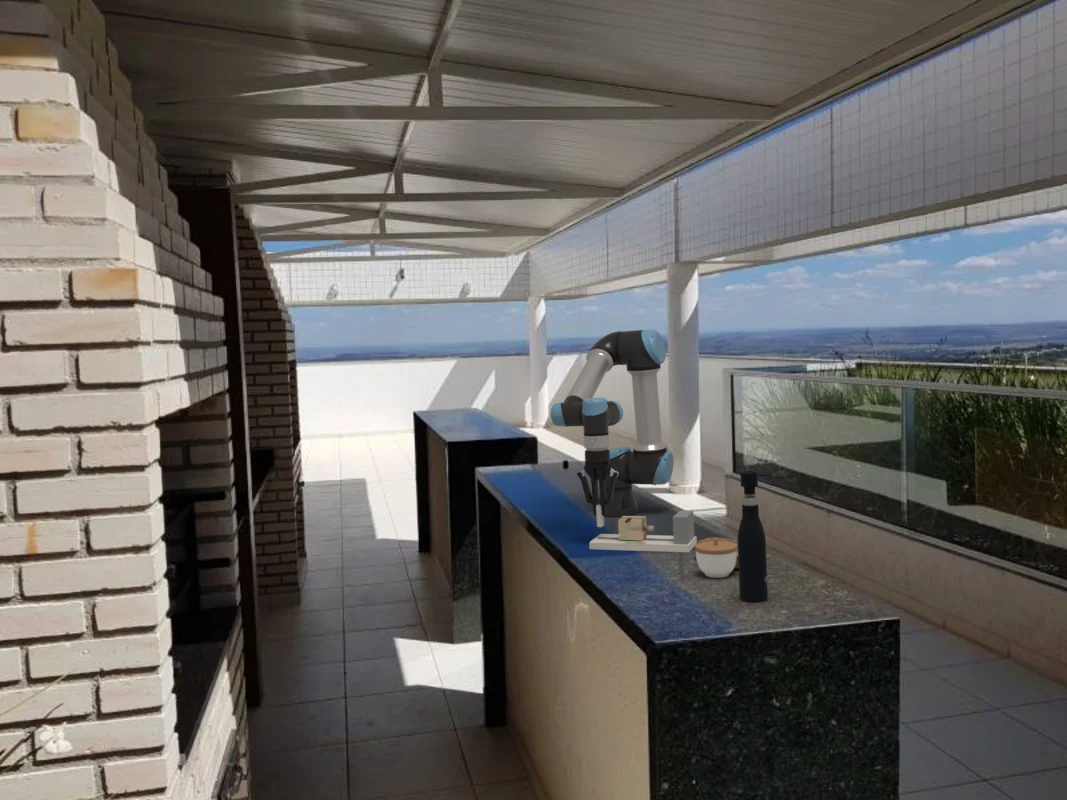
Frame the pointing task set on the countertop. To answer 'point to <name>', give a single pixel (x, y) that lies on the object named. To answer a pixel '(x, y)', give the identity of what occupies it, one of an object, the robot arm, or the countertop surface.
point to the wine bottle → (751, 545)
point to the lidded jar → (716, 557)
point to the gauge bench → (654, 538)
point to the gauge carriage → (633, 528)
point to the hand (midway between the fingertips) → (600, 525)
